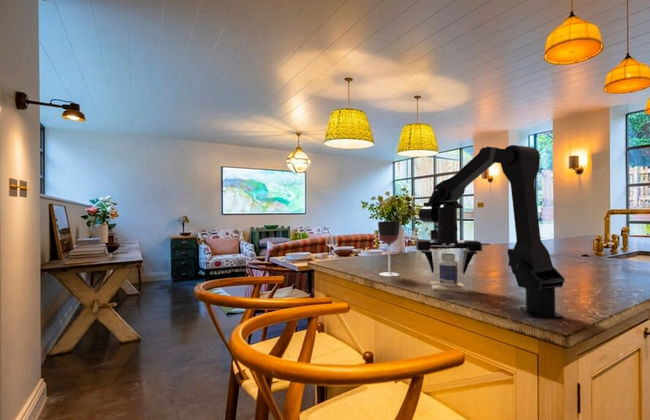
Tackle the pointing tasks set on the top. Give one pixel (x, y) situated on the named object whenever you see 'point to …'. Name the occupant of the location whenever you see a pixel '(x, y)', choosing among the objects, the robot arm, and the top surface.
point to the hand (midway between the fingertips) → (447, 273)
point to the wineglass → (388, 239)
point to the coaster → (459, 287)
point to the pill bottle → (448, 270)
